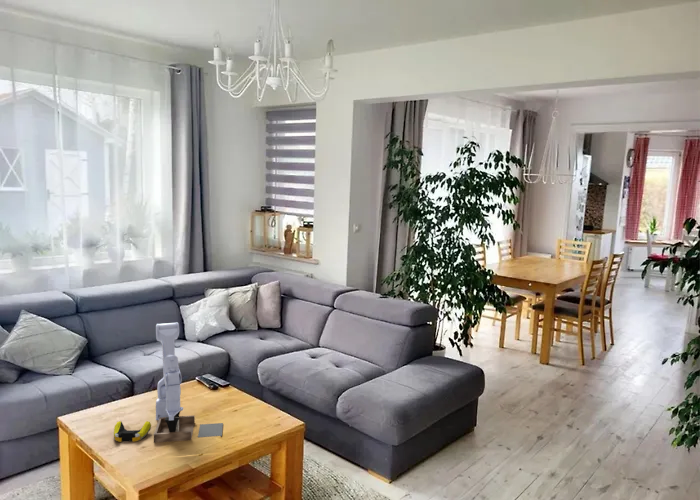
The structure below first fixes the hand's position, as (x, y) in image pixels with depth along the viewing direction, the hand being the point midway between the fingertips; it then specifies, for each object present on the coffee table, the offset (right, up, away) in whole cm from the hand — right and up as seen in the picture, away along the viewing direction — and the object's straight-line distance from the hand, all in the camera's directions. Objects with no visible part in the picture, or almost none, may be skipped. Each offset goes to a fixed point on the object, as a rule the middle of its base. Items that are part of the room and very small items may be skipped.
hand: (173, 428), depth 229 cm
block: (0, -2, 0) cm, 2 cm away
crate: (+1, -2, 0) cm, 2 cm away
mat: (+15, -2, +3) cm, 16 cm away
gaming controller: (-17, -3, -4) cm, 18 cm away
